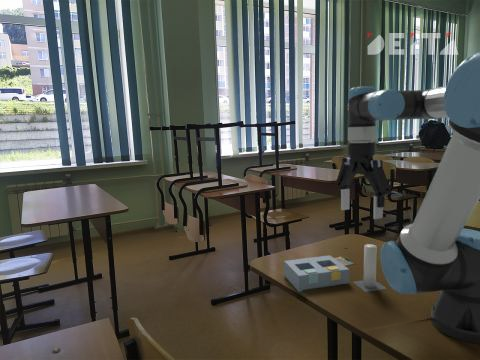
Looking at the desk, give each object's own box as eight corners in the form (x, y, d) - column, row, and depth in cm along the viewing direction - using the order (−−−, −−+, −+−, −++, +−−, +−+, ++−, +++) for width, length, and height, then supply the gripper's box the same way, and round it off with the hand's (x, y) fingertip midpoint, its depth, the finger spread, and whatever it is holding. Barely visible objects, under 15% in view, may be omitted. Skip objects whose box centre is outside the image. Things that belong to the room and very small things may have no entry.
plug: (377, 286, 110) (379, 247, 108) (367, 288, 109) (368, 248, 107) (371, 281, 114) (372, 243, 112) (361, 283, 113) (362, 245, 111)
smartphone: (304, 265, 130) (304, 262, 130) (341, 259, 135) (341, 255, 135) (316, 274, 123) (316, 270, 122) (355, 267, 127) (355, 263, 127)
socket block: (349, 285, 113) (349, 268, 112) (299, 292, 109) (299, 275, 108) (329, 269, 125) (330, 254, 124) (284, 275, 121) (284, 260, 120)
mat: (386, 290, 109) (387, 288, 109) (365, 293, 107) (365, 291, 107) (372, 280, 116) (372, 278, 116) (352, 283, 114) (352, 281, 114)
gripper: (406, 142, 99) (404, 220, 102) (342, 140, 122) (342, 205, 125) (385, 143, 96) (383, 224, 99) (324, 141, 119) (324, 207, 122)
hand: (360, 213), depth 112 cm, fingers open, 13 cm apart
